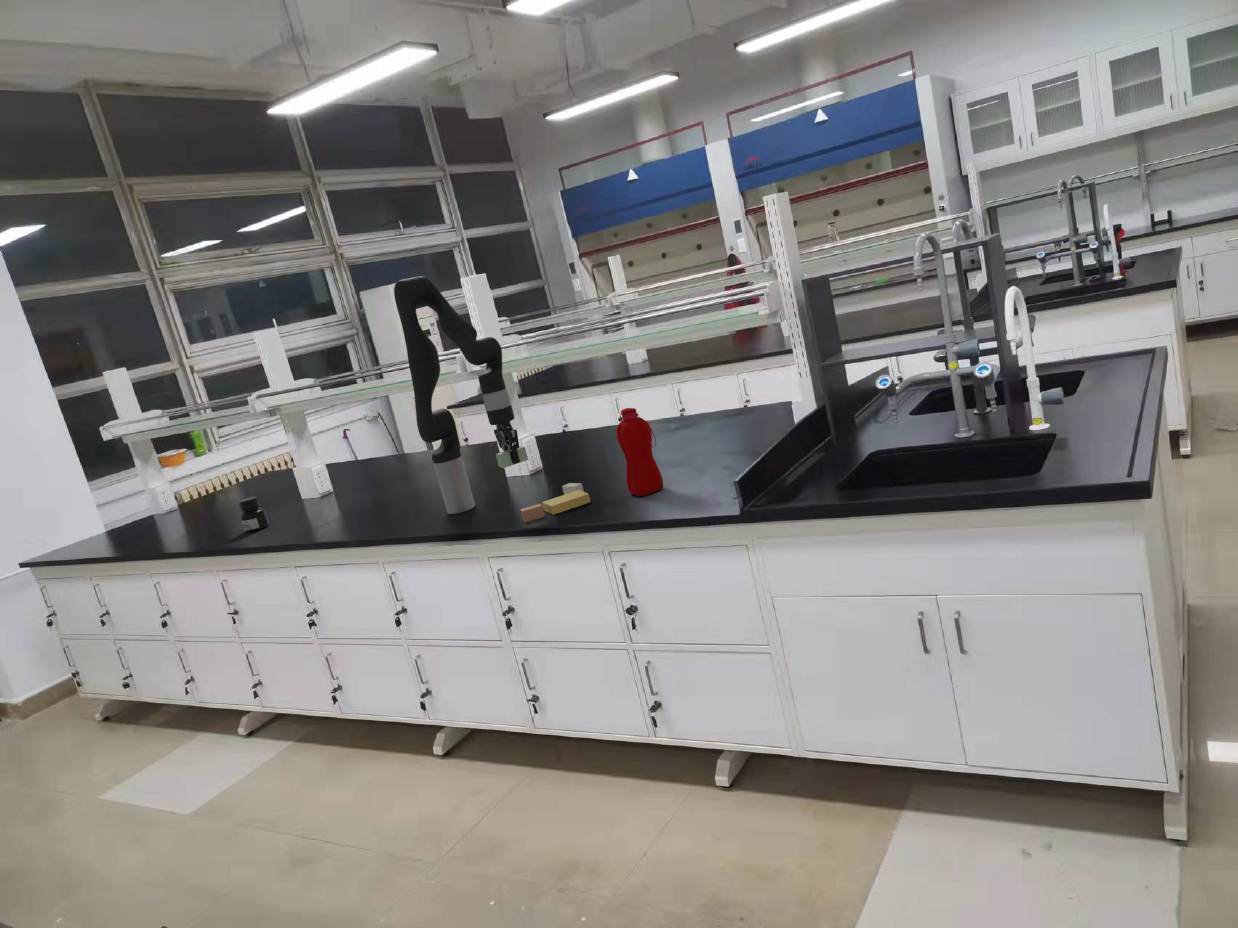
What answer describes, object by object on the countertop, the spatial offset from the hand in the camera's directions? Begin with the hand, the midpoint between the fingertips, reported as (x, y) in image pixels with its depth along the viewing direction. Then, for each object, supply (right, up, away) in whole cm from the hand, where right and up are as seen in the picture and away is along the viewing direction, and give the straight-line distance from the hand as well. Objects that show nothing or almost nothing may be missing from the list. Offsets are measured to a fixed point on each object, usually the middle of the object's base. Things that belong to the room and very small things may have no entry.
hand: (513, 462), depth 255 cm
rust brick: (+7, -16, -5) cm, 18 cm away
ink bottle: (-106, -25, +72) cm, 131 cm away
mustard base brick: (+16, -13, 0) cm, 21 cm away
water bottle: (+40, -8, -5) cm, 41 cm away
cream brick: (+17, -10, +11) cm, 23 cm away
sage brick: (0, 0, 0) cm, 0 cm away
